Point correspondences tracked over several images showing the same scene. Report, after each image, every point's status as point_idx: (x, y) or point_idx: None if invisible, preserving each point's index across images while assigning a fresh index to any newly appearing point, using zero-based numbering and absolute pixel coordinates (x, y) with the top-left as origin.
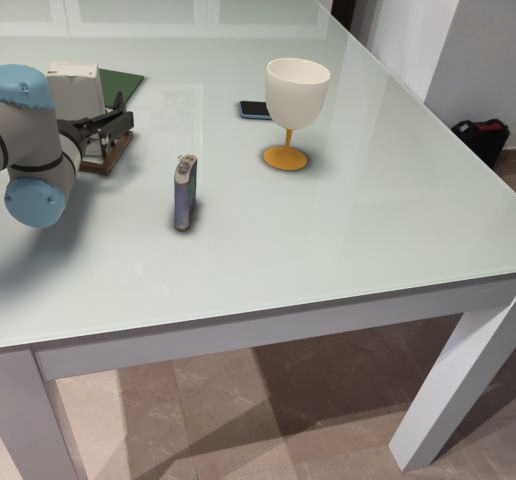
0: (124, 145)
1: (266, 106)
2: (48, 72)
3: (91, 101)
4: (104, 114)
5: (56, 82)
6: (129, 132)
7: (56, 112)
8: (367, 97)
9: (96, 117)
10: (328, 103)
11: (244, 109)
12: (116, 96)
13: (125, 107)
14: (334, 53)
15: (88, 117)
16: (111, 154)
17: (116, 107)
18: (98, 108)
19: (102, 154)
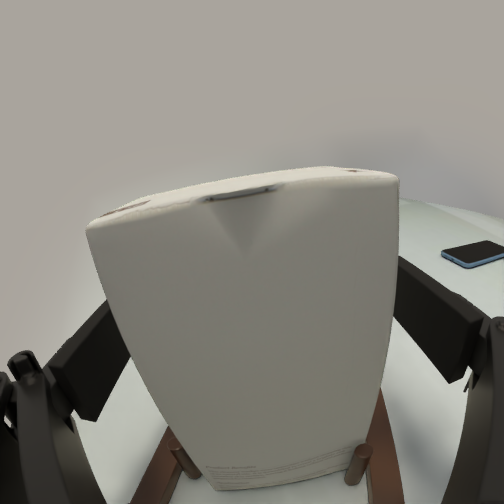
0: (384, 406)
1: (470, 249)
2: (105, 215)
3: (358, 327)
4: (501, 389)
5: (142, 260)
6: None
7: (164, 408)
8: (500, 227)
9: (499, 445)
10: (492, 236)
11: (460, 258)
12: (410, 273)
13: (470, 304)
14: (430, 208)
15: (325, 400)
16: (379, 464)
17: (483, 318)
18: (384, 350)
19: (354, 478)
